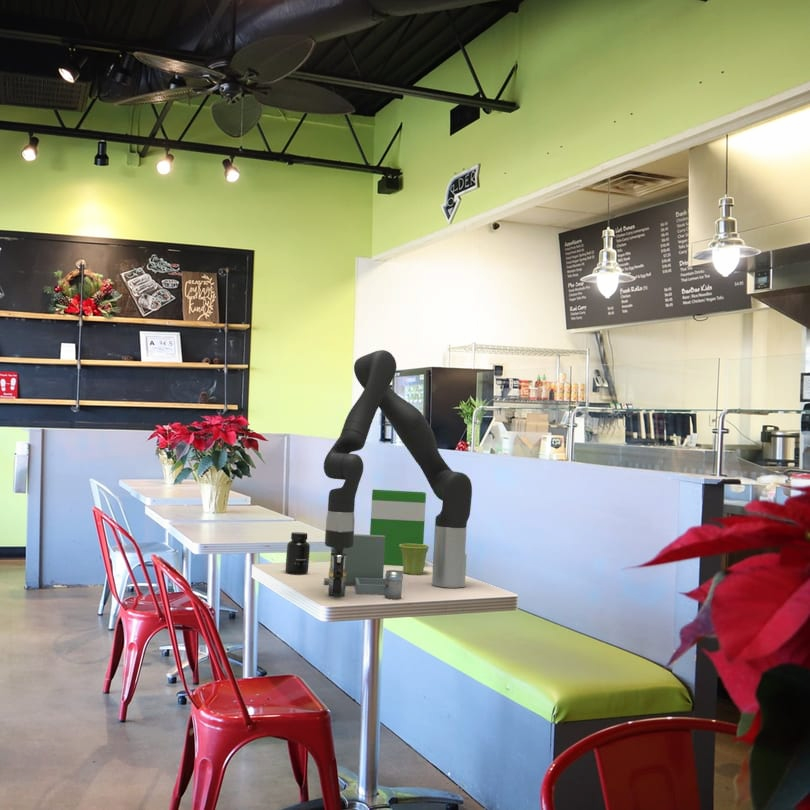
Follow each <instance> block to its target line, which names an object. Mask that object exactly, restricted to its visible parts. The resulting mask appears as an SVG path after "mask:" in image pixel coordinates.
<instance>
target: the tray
mask: <svg viewBox="0 0 810 810" xmlns="http://www.w3.org/2000/svg"><path fill="white" fill-rule="evenodd" d="M385 584H386V579H385V578H383V579H378V578H355V586H354V590H355V593H356V594H357V595H375V594H379V596H381V595H382V596H385Z"/></svg>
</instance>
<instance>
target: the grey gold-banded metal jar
mask: <svg viewBox="0 0 810 810" xmlns="http://www.w3.org/2000/svg"><path fill="white" fill-rule="evenodd" d="M335 573H341V572H340V571H335ZM332 577H333V571H332V570H331V568H330V567H329V572H328V578H329V585H328V590H327V591H328V593H327V597H330V598H331V597H332V598H344V597H345V596H346V586H345V582H346V569H345V570H344V572H343V578H342V585H341V593H340V594H333V578H332Z"/></svg>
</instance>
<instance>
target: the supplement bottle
mask: <svg viewBox="0 0 810 810" xmlns="http://www.w3.org/2000/svg"><path fill="white" fill-rule="evenodd" d="M290 535H291V537H290V539H291V541H289V542H287V544H286V545H287V546H286V557H285V573H286V574H289V575H307V574H308V572H309V565H310V564H309V563H310V562H309V561H310V552H311V551H310V550H311V548H310V547H311V546H310V543H309V542H308V533H306V532H302V531H299V532H297V531H294V532H291V534H290Z"/></svg>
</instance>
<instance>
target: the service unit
mask: <svg viewBox="0 0 810 810" xmlns="http://www.w3.org/2000/svg"><path fill="white" fill-rule="evenodd" d="M333 549H334V547H330V554H331V553H333ZM384 552H385V536H384V535H370V534H362V533H361V534H359V533H357V534H356V533H354V540H353V546H352V547H350V548H344V549H343V553H346V561H345V569H346V582H345V587H346V586H348V587H349V586H350V587H355V578H378V579H384V570H385V569H384V566H385V565H384ZM329 564H330V565H329V569H330V568H332V567H331V562H330V563H329ZM323 585H325V586H329V577H328V578H327V577H326V578H323Z"/></svg>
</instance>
